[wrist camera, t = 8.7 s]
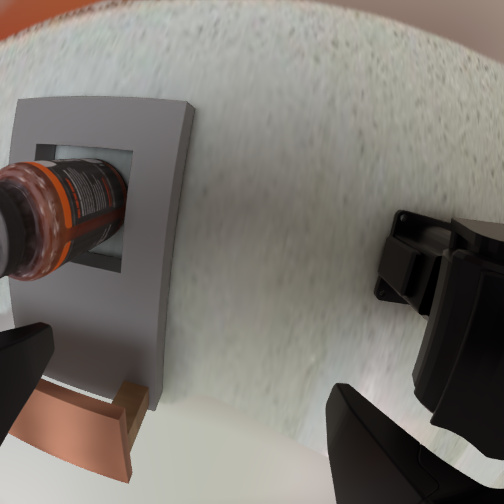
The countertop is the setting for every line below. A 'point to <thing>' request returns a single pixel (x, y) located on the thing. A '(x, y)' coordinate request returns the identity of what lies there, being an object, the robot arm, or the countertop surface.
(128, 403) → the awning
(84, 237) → the supplement bottle
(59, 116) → the socket plate
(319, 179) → the countertop surface
